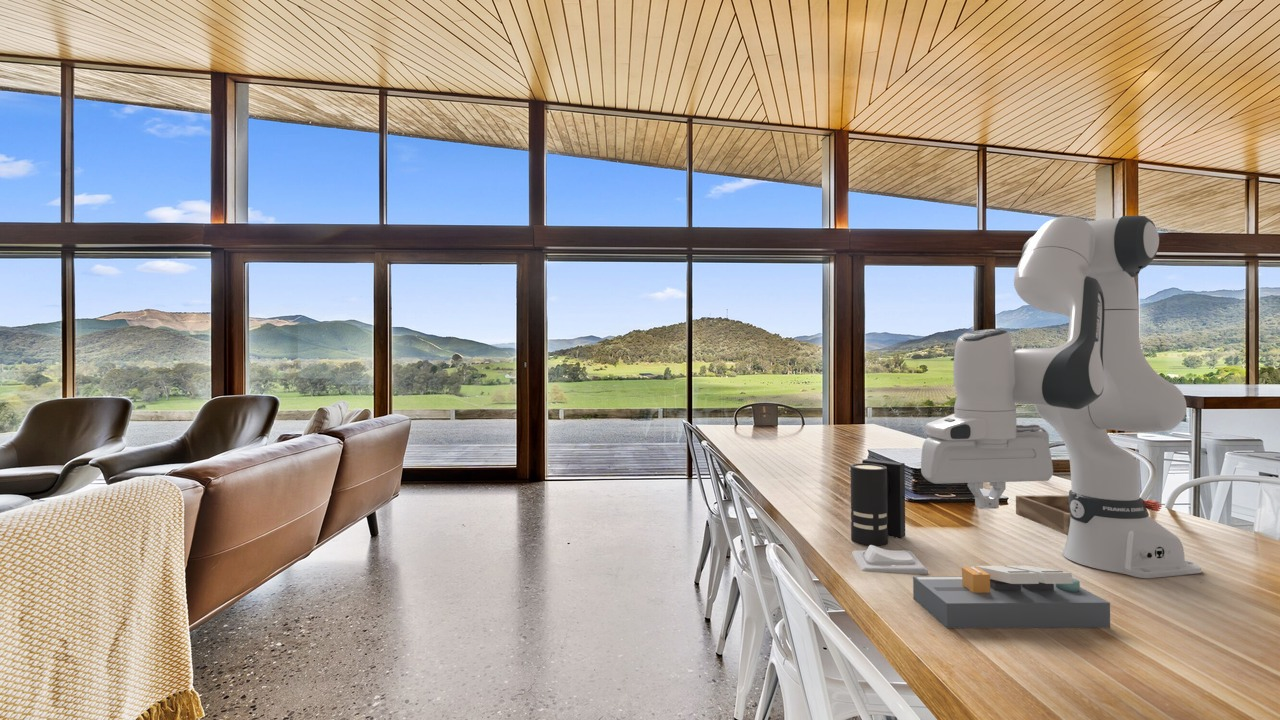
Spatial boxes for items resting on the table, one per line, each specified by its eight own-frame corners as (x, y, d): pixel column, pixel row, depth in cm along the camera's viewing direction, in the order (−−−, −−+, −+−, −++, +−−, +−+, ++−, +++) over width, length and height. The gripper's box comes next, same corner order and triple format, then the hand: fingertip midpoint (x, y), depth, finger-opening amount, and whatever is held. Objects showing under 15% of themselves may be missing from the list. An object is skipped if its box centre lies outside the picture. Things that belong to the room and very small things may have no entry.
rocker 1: (1000, 575, 98) (998, 564, 98) (1038, 583, 88) (1036, 572, 89) (975, 575, 98) (973, 564, 98) (1011, 583, 88) (1009, 572, 89)
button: (1069, 584, 95) (1069, 576, 95) (1084, 592, 91) (1084, 583, 91) (1051, 584, 95) (1051, 576, 95) (1065, 592, 92) (1065, 583, 92)
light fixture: (841, 540, 131) (841, 465, 131) (866, 527, 141) (866, 458, 141) (883, 550, 124) (882, 471, 124) (906, 536, 133) (905, 463, 134)
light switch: (849, 539, 123) (911, 539, 121) (851, 558, 123) (912, 558, 121) (860, 556, 112) (927, 556, 110) (861, 577, 112) (928, 577, 110)
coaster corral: (1083, 513, 152) (1083, 495, 152) (1144, 534, 133) (1144, 513, 133) (1015, 513, 152) (1015, 495, 152) (1067, 534, 134) (1067, 514, 134)
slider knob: (978, 584, 95) (978, 565, 95) (990, 592, 92) (989, 573, 92) (962, 584, 95) (961, 566, 95) (973, 592, 92) (973, 573, 92)
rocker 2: (1031, 575, 98) (1029, 564, 98) (1073, 583, 88) (1071, 572, 89) (1006, 575, 98) (1004, 564, 98) (1045, 583, 88) (1043, 572, 89)
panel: (1058, 597, 99) (1058, 570, 99) (1110, 627, 88) (1109, 596, 88) (913, 598, 99) (913, 570, 99) (947, 628, 88) (946, 597, 88)
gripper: (1034, 421, 95) (1036, 501, 95) (915, 425, 95) (917, 504, 96) (1061, 426, 89) (1063, 511, 89) (934, 430, 89) (936, 514, 89)
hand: (986, 507), depth 92 cm, fingers closed
